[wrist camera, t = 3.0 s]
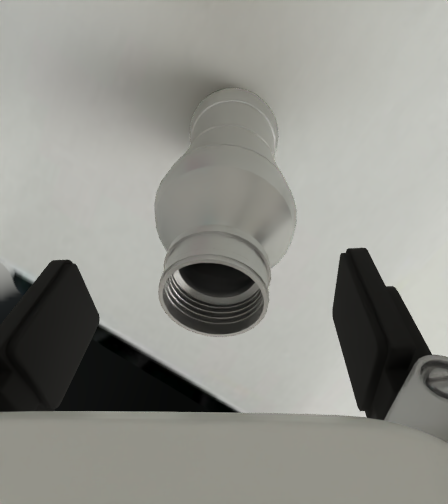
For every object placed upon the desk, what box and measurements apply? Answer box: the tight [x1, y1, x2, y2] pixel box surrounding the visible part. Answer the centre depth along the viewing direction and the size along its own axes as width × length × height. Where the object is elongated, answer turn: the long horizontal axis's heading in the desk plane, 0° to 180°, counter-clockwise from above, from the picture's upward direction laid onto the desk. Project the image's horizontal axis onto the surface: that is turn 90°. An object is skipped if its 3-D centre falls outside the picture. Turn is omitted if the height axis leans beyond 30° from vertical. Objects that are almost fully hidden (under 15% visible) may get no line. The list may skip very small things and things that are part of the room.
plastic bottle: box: [154, 88, 296, 337], centre depth 19 cm, size 6×7×20 cm
